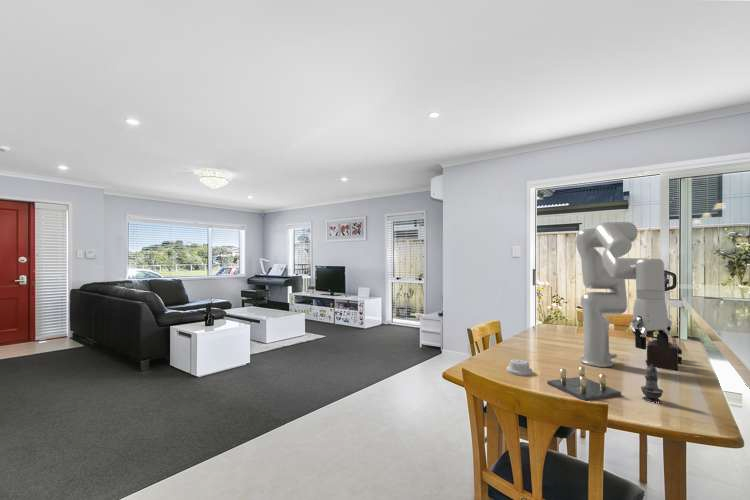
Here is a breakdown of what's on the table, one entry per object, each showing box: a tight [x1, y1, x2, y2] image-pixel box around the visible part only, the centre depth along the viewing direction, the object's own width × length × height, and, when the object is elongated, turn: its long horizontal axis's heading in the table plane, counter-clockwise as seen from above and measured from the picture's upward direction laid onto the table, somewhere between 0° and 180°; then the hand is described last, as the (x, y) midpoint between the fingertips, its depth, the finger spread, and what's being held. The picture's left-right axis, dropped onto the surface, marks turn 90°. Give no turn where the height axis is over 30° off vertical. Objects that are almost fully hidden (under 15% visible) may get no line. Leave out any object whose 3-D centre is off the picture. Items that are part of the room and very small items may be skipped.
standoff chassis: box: [547, 366, 622, 401], centre depth 126 cm, size 16×16×6 cm
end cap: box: [678, 346, 683, 365], centre depth 161 cm, size 10×7×7 cm
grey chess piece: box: [640, 364, 664, 404], centre depth 117 cm, size 6×6×12 cm
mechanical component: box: [505, 358, 533, 376], centre depth 146 cm, size 10×4×10 cm
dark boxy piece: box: [645, 331, 679, 372], centre depth 152 cm, size 16×11×18 cm
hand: (651, 347), depth 116 cm, fingers open, 9 cm apart
